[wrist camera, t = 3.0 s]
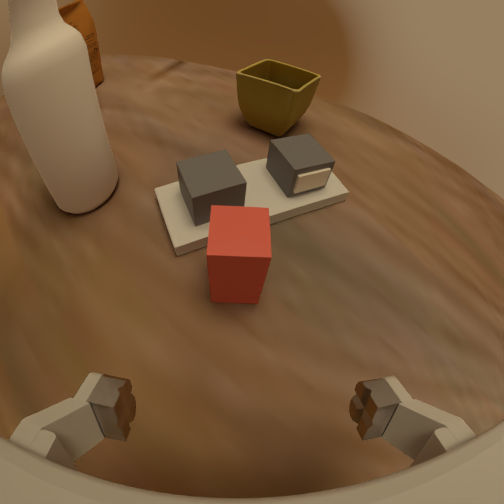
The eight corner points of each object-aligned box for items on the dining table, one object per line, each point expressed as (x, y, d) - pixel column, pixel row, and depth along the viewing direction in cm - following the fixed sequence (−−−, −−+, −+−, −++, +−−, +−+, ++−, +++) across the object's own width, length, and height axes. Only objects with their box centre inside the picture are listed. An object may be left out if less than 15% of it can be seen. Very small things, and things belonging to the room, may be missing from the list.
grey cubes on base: (177, 256, 26) (167, 220, 21) (156, 198, 29) (147, 160, 25) (344, 200, 32) (360, 166, 27) (309, 157, 35) (319, 124, 31)
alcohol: (94, 157, 33) (53, -48, 7) (134, 178, 31) (99, -76, 5) (47, 199, 28) (-28, -14, 3) (81, 229, 27) (-9, -44, 1)
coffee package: (45, 105, 41) (23, 22, 23) (84, 78, 48) (71, 1, 29) (67, 109, 40) (45, 12, 21) (110, 80, 46) (98, -8, 28)
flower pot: (260, 105, 42) (267, 57, 34) (309, 124, 40) (322, 74, 32) (230, 127, 37) (234, 72, 30) (285, 149, 36) (298, 91, 28)
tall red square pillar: (257, 303, 24) (271, 257, 18) (211, 302, 24) (206, 254, 17) (256, 263, 26) (268, 207, 20) (213, 261, 26) (211, 205, 19)
